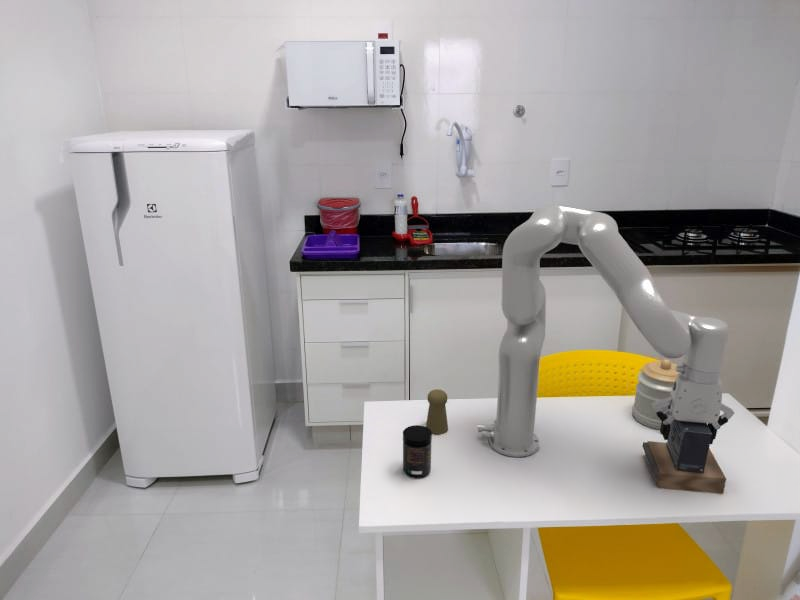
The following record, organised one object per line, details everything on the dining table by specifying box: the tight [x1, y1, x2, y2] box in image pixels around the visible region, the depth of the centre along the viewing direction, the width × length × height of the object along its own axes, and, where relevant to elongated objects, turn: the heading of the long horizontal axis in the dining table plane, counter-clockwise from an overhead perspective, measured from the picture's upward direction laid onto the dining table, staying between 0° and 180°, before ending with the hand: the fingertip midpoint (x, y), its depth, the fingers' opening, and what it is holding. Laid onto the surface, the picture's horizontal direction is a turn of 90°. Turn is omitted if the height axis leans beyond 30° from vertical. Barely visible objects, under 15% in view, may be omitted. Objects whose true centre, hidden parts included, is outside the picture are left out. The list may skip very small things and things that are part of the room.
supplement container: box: [402, 424, 433, 479], centre depth 146 cm, size 7×7×10 cm
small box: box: [666, 419, 712, 473], centre depth 144 cm, size 11×6×10 cm, turn 170°
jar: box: [632, 358, 680, 430], centre depth 167 cm, size 13×13×18 cm
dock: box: [641, 440, 727, 494], centre depth 146 cm, size 15×13×4 cm
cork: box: [425, 389, 449, 436], centre depth 163 cm, size 6×6×11 cm
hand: (686, 438), depth 144 cm, fingers open, 9 cm apart
